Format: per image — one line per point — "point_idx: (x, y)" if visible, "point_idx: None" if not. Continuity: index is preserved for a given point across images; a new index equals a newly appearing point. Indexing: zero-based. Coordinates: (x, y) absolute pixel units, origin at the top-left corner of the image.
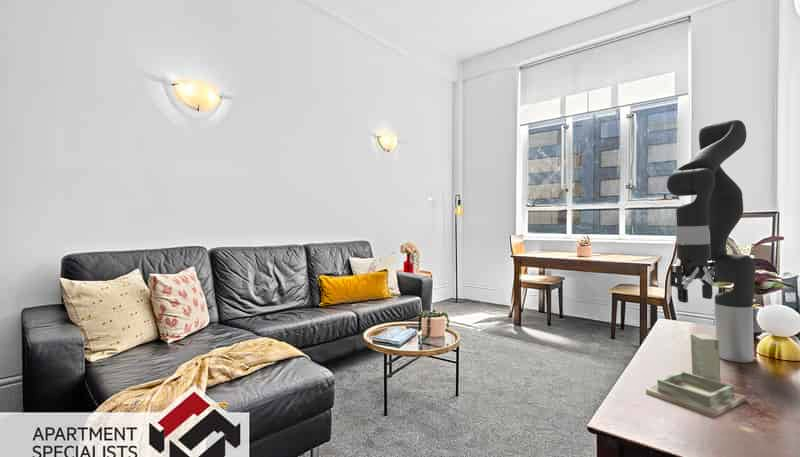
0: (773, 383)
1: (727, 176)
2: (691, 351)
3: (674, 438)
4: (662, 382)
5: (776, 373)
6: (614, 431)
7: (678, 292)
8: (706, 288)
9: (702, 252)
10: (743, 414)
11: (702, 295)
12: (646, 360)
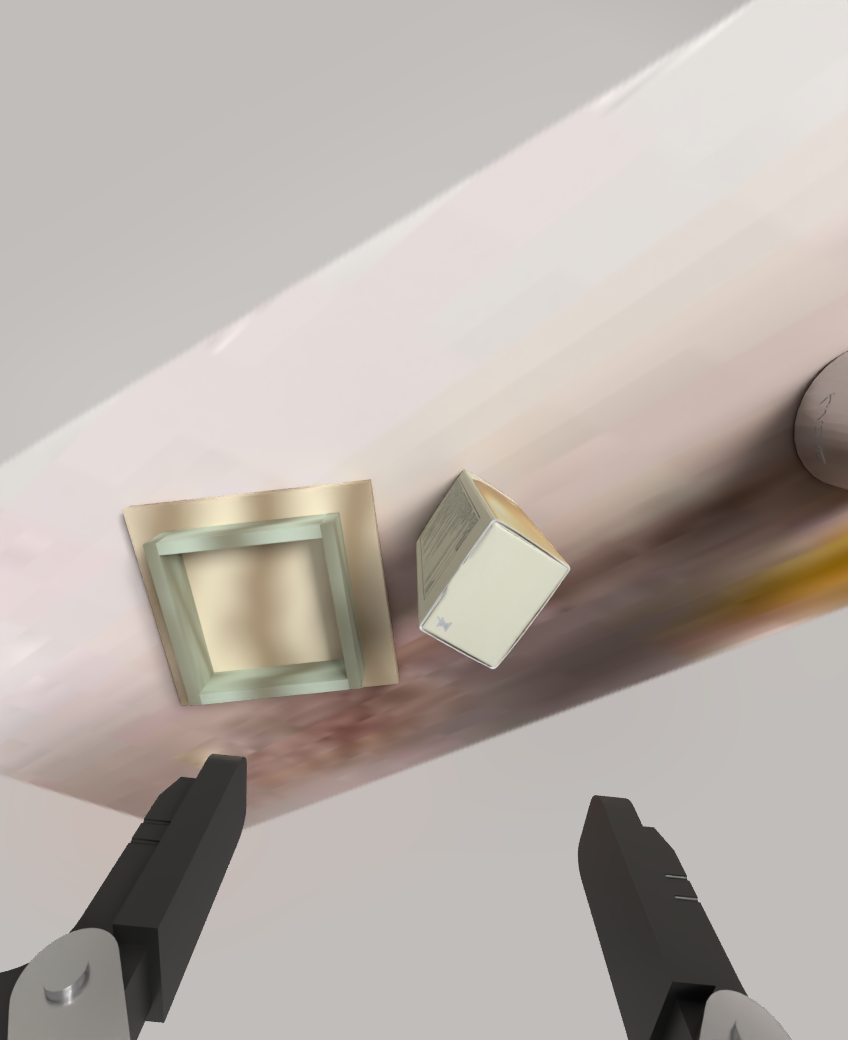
0: (640, 637)
1: None
2: (474, 496)
3: None
4: (149, 562)
5: (769, 592)
6: None
7: (112, 883)
8: (633, 973)
9: None
10: (291, 717)
11: (605, 813)
12: (465, 231)
